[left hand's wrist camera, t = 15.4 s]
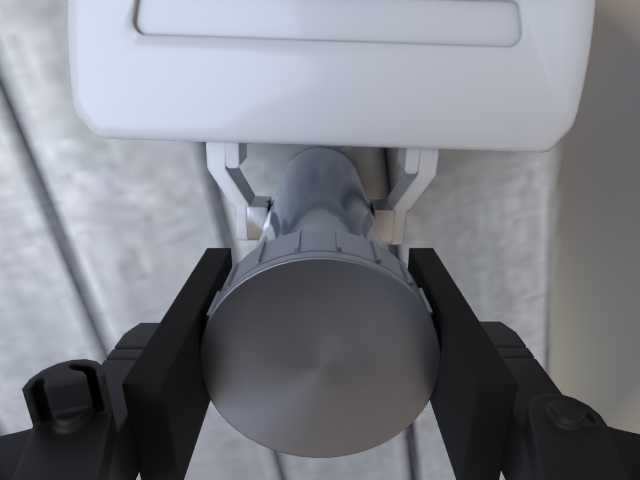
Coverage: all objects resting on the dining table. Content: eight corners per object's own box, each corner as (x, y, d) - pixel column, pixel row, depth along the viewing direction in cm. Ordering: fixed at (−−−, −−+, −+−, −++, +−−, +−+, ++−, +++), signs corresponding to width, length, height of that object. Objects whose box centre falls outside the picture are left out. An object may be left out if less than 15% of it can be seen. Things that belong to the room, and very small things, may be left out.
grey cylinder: (370, 210, 27) (438, 403, 11) (297, 234, 28) (267, 450, 12) (345, 135, 26) (385, 240, 10) (268, 163, 26) (189, 305, 10)
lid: (450, 379, 13) (469, 426, 11) (262, 432, 14) (254, 483, 12) (392, 195, 11) (406, 218, 9) (176, 269, 12) (151, 303, 10)
